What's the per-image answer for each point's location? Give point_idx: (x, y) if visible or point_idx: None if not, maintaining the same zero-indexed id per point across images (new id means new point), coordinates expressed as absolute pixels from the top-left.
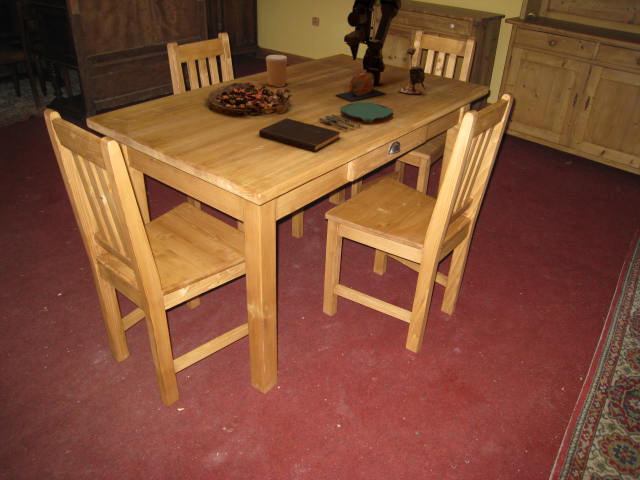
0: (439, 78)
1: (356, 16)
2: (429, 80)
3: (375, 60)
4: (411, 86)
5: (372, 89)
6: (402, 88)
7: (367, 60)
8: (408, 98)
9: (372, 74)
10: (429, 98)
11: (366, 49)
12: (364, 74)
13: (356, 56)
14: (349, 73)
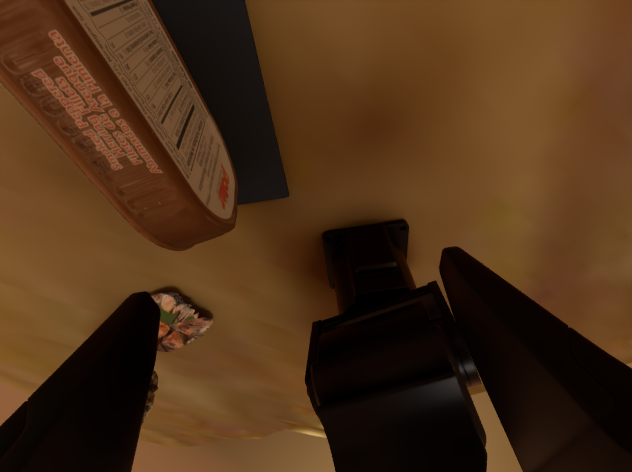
0: (303, 421)
1: None
2: (296, 403)
3: (327, 387)
4: (160, 345)
5: (244, 194)
6: (189, 314)
7: (399, 352)
8: (49, 274)
9: (177, 247)
10: (53, 335)
11: (484, 458)
12: (49, 134)
13: (455, 316)
14: (592, 250)
